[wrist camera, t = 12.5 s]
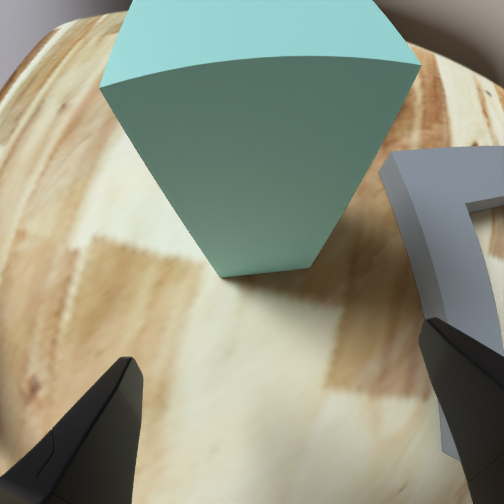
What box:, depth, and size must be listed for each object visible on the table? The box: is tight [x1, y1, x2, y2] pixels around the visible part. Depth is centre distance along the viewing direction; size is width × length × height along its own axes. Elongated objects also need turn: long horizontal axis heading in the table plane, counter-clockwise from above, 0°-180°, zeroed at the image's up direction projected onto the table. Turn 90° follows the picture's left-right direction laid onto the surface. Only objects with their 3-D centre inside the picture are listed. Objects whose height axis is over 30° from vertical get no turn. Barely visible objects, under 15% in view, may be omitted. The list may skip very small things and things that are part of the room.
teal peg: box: [99, 0, 421, 278], centre depth 11 cm, size 5×5×14 cm
